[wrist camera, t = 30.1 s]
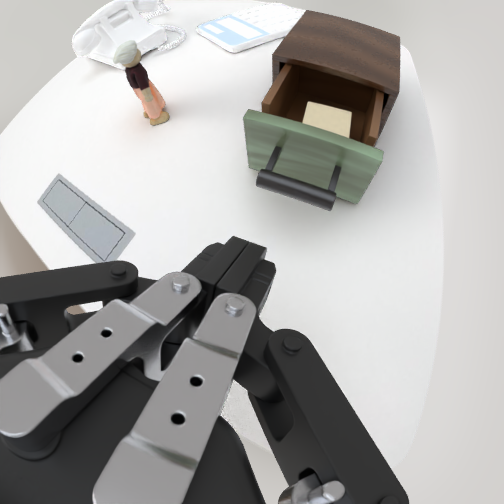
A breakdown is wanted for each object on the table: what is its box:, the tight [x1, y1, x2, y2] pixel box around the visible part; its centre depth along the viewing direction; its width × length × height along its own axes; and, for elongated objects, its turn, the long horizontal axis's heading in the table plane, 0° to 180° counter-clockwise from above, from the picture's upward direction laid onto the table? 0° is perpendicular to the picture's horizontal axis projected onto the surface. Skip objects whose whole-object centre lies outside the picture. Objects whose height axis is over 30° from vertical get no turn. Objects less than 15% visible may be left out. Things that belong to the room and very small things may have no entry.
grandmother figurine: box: [113, 40, 169, 125], centre depth 28 cm, size 8×4×13 cm, turn 46°
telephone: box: [72, 0, 186, 70], centre depth 36 cm, size 25×21×12 cm
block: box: [302, 102, 352, 138], centre depth 26 cm, size 4×4×4 cm
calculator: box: [196, 2, 304, 53], centre depth 40 cm, size 13×20×2 cm, turn 125°
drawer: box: [243, 63, 384, 211], centre depth 26 cm, size 18×12×8 cm
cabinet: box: [272, 10, 400, 146], centre depth 29 cm, size 15×13×10 cm
